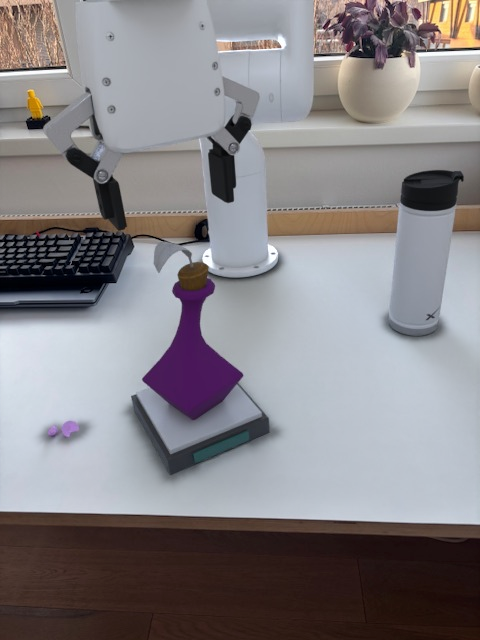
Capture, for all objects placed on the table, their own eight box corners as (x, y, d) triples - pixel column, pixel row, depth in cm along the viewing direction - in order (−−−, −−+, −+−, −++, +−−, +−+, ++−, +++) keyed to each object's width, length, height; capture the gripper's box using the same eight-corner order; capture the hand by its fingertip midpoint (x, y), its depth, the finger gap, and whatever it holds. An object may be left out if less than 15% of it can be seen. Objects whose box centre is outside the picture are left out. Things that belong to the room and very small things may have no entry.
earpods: (75, 440, 59) (75, 424, 60) (79, 437, 58) (78, 420, 58) (46, 441, 57) (46, 425, 58) (50, 438, 56) (49, 421, 57)
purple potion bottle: (199, 371, 61) (180, 220, 52) (246, 399, 56) (235, 239, 47) (145, 403, 57) (114, 245, 47) (191, 437, 52) (167, 269, 43)
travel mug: (443, 338, 68) (468, 182, 58) (388, 335, 69) (403, 182, 59) (437, 312, 73) (460, 165, 63) (387, 310, 75) (401, 165, 64)
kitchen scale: (133, 409, 60) (129, 391, 59) (222, 376, 64) (220, 359, 63) (171, 477, 52) (167, 457, 50) (271, 434, 56) (270, 415, 54)
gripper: (227, -34, 43) (241, 178, 52) (-1, -17, 37) (60, 221, 46) (276, -38, 37) (282, 201, 46) (16, -19, 31) (83, 253, 40)
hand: (172, 211), depth 46 cm, fingers open, 9 cm apart
